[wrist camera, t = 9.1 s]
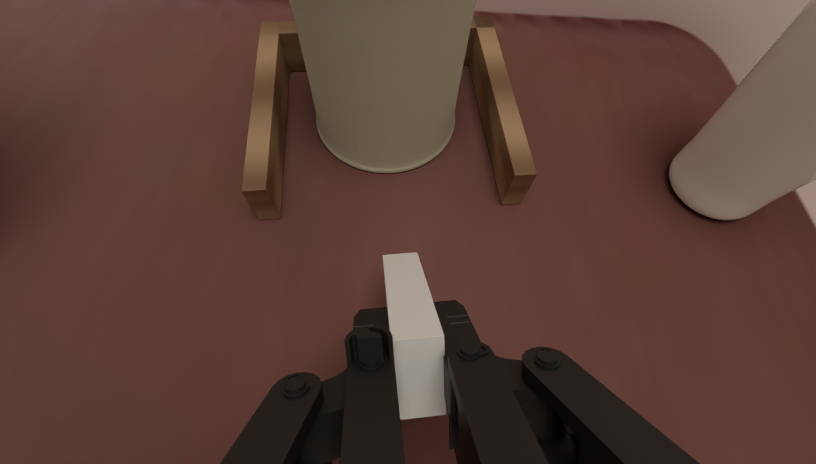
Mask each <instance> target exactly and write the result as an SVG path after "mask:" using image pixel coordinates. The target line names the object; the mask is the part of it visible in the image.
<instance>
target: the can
mask: <svg viewBox="0 0 816 464" xmlns="http://www.w3.org/2000/svg"><path fill="white" fill-rule="evenodd" d="M289 1H290V5H291V9H292V13H293V17H294V21H295V25H296V29H297V33H298V37H299V42H300V46H301V50H302V54H303V58H304V62H305V67H306V71H307V75H308V79H309V83H310V88H311V92H312V97H313V101H314V106H315V110H316V124H317V129H318V133H319V135H320V138H321V140H322V141H323V143H324V145H325V146H326V147H327V148H328V150H329V151H330V152H331V153H332V154H333V155H334V156H336V157H337V158H338V159H339V160H341V161H343V162H344V163H346V164H348V165H350V166H352V167H355V168H357V169H360V170H364V171H368V172H374V173H398V172H404V171H408V170H412V169H415V168H417V167H420V166H422V165H424V164H426V163H428V162H429V161H431V160H432V159H434V158H435V157H436V156H437V155H438V154H440V153H441V152H442V150H443V149H444V148H445V147H446V145H447V144H448V142H449V141H450V139H451V136H452V134H453V131H454V125H455V108H456V101H457V96H458V90H459V85H460V80H461V74H462V69H463V64H464V59H465V54H466V49H467V43H468V38H469V33H470V28H471V23H472V18H473V13H474V8H475V4H476V0H289Z"/></svg>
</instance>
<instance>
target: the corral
mask: <svg viewBox="0 0 816 464" xmlns="http://www.w3.org/2000/svg"><path fill="white" fill-rule="evenodd" d="M463 65H469V68H470V72H471V76H472V81H473V85H474V89H475V94H476V98H477V102H478V107H479V111H480V115H481V120H482V124H483V128H484V133H485V137H486V141H487V146H488V150H489V154H490V158H491V163H492V167H493V171H494V176H495V180H496V184H497V189H498V193H499V197H500V202H501V205H502V204H518V203H521V202H522V200H523V198H524V196H525V195H526V193H527V191H528V189H529V188H530V186H531V184H532V182H533V180H534V179H535V177H536V175H537V173H536V169H535V166H534V163H533V159H532V156H531V152H530V149H529V145H528V142H527V138H526V135H525V132H524V128H523V125H522V121H521V118H520V114H519V111H518V108H517V104H516V101H515V97H514V94H513V90H512V87H511V83H510V80H509V77H508V73H507V70H506V66H505V63H504V59H503V56H502V52H501V49H500V46H499V42H498V39H497V35H496V32H495V28H494V25H493V22H492V18H491V16H473V18H472V23H471V28H470V33H469V38H468V43H467V49H466V54H465V59H464V64H463ZM290 71H306V67H305V62H304V58H303V54H302V50H301V46H300V42H299V37H298V33H297V29H296V25H295V21H279V22H261V27H260V36H259V44H258V53H257V61H256V70H255V79H254V87H253V96H252V105H251V113H250V122H249V130H248V139H247V148H246V156H245V165H244V173H243V182H242V193H243V195H244V196H245V198H246V199H247V201H248V203H249V204H250V206H251V207H252V209H253V211H254V212H255V214H256V215H257V217H258V218H259V220H264V219H280V218H281V204H282V188H283V171H284V155H285V138H286V122H287V105H288V89H289V73H290Z"/></svg>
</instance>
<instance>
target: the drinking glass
mask: <svg viewBox="0 0 816 464" xmlns="http://www.w3.org/2000/svg"><path fill="white" fill-rule="evenodd" d="M669 179H670V183H671V186H672V188H673V190H674V192H675V193H676V195H677V196H678V197H679V198H680V199H681V201H682V202H683V203H685V204H686V205H687V206H688V207H690V208H691V209H692V210H694V211H696V212H698V213H699V214H702V215H704V216H707V217H710V218H713V219H718V220H736V219H740V218H743V217H746V216H748V215H750V214H752V213H754V212H756V211H757V210H759V209H761V208H762V207H764V206H766V205H767V204H769V203H771V202H772V201H774V200H776V199H778V198H780V197H782V196H784V195H786V194H788V193H790V192H792V191H794V190H796V189H798V188H799V187H802V186H803V185H806V184H808V183H810V182H812V181H813V180H816V0H811V1H810V2H809V3H808V4H807V5H806V6H805V7H804V9H803V10H802V11H801V12H800V13H799V14H798V16H797V17H796V18H795V19H794V20H793V21H792V23H791V24H790V25H789V26H788V27H787V28H786V30H785V31H784V32H783V33H782V34H781V36H780V37H779V38H778V39H777V40H776V42H775V43H774V44H773V45H772V46H771V47H770V49H769V50H768V51H767V52H766V53H765V55H764V56H763V57H762V58H761V59H760V61H759V62H758V63H757V64H756V65H755V66H754V68H753V69H752V70H751V71H750V72H749V74H748V75H747V76H746V77H745V78H744V79H743V81H742V82H741V83H740V84H739V85H738V86H737V88H736V89H735V90H734V91H733V92H732V94H731V95H730V96H729V97H728V98H727V99H726V101H725V102H724V103H723V104H722V105H721V106H720V108H719V109H718V110H717V111H716V112H715V113H714V115H713V116H712V117H711V118H710V119H709V120H708V122H707V123H706V124H705V125H704V126H703V127H702V128H701V130H700V131H699V132H698V133H697V134H696V135H695V136H694V138H693V139H692V140H691V141H690V142H689V143H688V144H687V145H686V146H685V147H684V148H683V149H682V150H681V151H680V152H679V153H678V154H677V155H676V156H675V157H674V159H673V160H672V162H671V165H670V168H669Z"/></svg>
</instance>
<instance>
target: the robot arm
mask: <svg viewBox="0 0 816 464" xmlns="http://www.w3.org/2000/svg"><path fill="white" fill-rule="evenodd" d="M383 265H384V278H385V292H386V305H387V307H385V308H374V309H363V310H360V311H359V312H358V313H357V314H356V316H355V317H354V324H353V331H351V332H350V333H349V334H348V335H347V336H346V338H345V348H346V357H347V369H346V370H344V371H343V372H342V373H341V374H339V375H337V376H335V377H333V378H330V379H328V380H325V381H320V378H319V377H318V376H316V375H315V374H312V373H307V372H301V373H294V374H291V375H288V376H286V377H284V378H282V379H281V380H279V381H278V382H277V383H276V384H275V385H274V386H273V387H272V388H271V390H270V391H269V393H268V394H267V396H266V397H265V399H264V400H263V401H262V403H261V404H260V406H259V407H258V409H257V410H256V412H255V413H254V415H253V416H252V418H251V419H250V421H249V422H248V424H247V425H246V427H245V428H244V429H243V431H242V432H241V434H240V435H239V437H238V438H237V440H236V441H235V443H234V444H233V446H232V447H231V449H230V450H229V452H228V453H227V454H226V456H225V457H224V459H223V460H222V462H221V463H220V464H332V460H334V459H337V458H339V457H340V464H405V460H404V450H403V441H402V431H401V421H400V420H403V419H412V418H421V417H430V416H439V415H446V405H447V409H448V413H449V449H453V446H454V451H455V455H456V459H457V463H458V464H699V463H698V462H697V461H696V460H695V459H693V458H692V457H691V456H690V455H688V454H687V453H686V452H685V451H683V450H682V449H681V448H680V447H679V446H677V445H676V444H675V443H674V442H672V441H671V440H670V439H669V438H668V437H666V436H665V435H664V434H663V433H661V432H660V431H659V430H658V429H657V428H655V427H654V426H653V425H652V424H650V423H649V422H648V421H647V420H645V419H644V418H643V417H642V416H641V415H639V414H638V413H637V412H636V411H634V410H633V409H632V408H631V407H630V406H628V405H627V404H626V403H625V402H623V401H622V400H621V399H620V398H618V397H617V396H616V395H615V394H614V393H612V392H611V391H610V390H609V389H607V388H606V387H605V386H604V385H603V384H601V383H600V382H599V381H598V380H596V379H595V378H594V377H593V376H592V375H590V374H589V373H588V372H587V371H585V370H584V369H583V368H582V367H580V366H579V365H578V364H577V363H576V362H574V361H573V360H572V359H571V358H569V357H568V356H567V355H565V354H564V353H562V352H560V351H558V350H555V349H552V348H547V347H536V348H531V349H529V350H527V351H526V352H525V353H524V354H523V355H522V361H520V360H512V359H505V358H500V357H497V356H495V355H494V353H493V351H492V350H491V348H490V347H489V346H487V345H486V344H484V343H482V342H480V339H479V337H478V335H477V333H476V331H475V329H474V327H473V325H472V322H471V320H470V318H469V316H468V314H467V312H466V310H465V308H464V306H463V305H461V304H460V303H458V302H457V301H456V300H451V301H440V302H433V300H432V297H431V294H430V291H429V288H428V284H427V281H426V278H425V275H424V272H423V269H422V266H421V263H420V260H419V257H418V254H417V252H416V253H404V254H391V255H383Z"/></svg>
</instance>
